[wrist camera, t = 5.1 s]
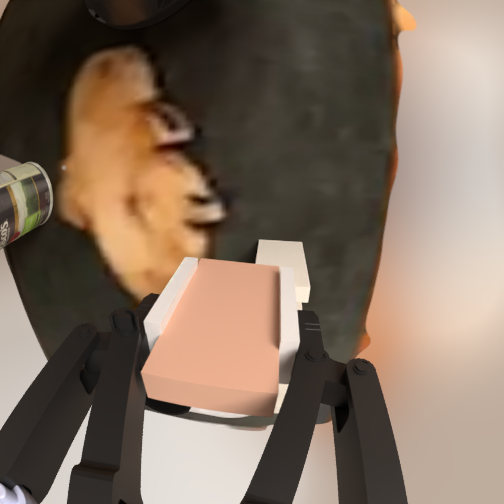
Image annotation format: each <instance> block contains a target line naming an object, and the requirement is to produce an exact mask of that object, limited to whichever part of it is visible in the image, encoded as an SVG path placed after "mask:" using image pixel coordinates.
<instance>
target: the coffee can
mask: <svg viewBox="0 0 504 504" xmlns="http://www.w3.org/2000/svg"><path fill="white" fill-rule="evenodd" d="M52 207H53V191H52V186H51V183H50V180H49V178H48V175H47V174H46V172H45V171H44V169H43V168H42V167H41V166H40V165H38V164H37V163H34V162H27V163H24V164H22V165H19V166H16V167H13V168H9V169H6V170H3V171H0V249H2V248H3V247H5V246H6V245H8V244H9V243H11V242H13V241H14V240H16V239H17V238H19V237H20V236H22V235H24V234H25V233H27V232H29V231H30V230H32V229H34V228H36V227H37V226H39V225H42V224H44V223H45V222H46V221H47V220H48V219H49V217H50V214H51V212H52Z"/></svg>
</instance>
